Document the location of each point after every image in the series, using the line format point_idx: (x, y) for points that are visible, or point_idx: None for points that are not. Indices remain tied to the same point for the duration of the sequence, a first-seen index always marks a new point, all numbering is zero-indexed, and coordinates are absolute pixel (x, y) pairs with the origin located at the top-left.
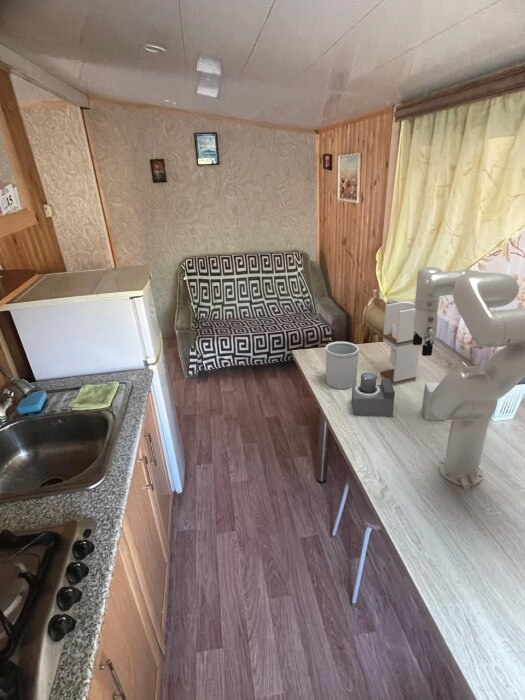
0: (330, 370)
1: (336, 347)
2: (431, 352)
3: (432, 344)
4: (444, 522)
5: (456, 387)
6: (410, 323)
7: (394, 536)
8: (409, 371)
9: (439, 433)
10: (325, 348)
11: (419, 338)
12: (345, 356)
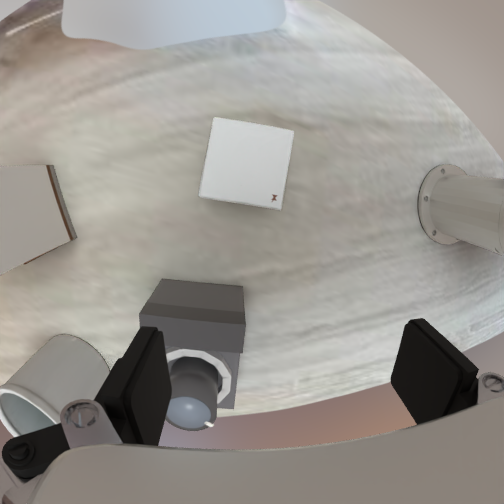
0: None
1: (14, 416)
2: (433, 332)
3: (501, 386)
4: (500, 273)
5: None
6: None
7: (493, 335)
8: (38, 191)
9: (332, 185)
10: None
11: (148, 398)
12: None
